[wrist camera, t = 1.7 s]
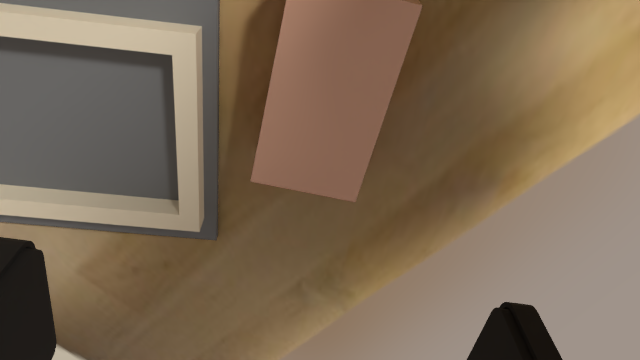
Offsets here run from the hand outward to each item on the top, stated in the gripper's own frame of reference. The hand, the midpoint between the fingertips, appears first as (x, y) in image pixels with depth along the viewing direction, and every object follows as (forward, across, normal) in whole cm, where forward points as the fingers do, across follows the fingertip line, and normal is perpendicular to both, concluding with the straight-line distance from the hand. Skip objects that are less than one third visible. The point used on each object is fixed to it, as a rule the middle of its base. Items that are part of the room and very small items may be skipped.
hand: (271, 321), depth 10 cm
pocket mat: (+19, +14, +6) cm, 24 cm away
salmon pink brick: (+19, -2, +1) cm, 20 cm away
